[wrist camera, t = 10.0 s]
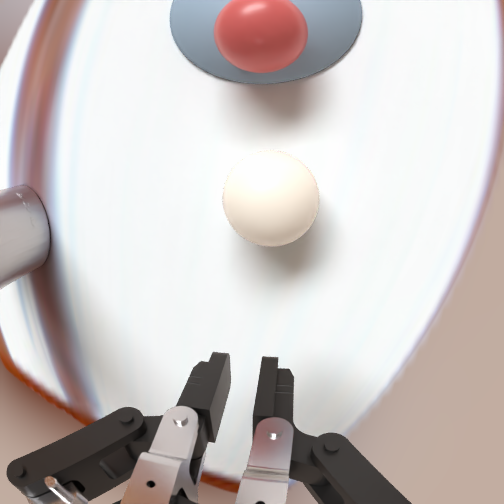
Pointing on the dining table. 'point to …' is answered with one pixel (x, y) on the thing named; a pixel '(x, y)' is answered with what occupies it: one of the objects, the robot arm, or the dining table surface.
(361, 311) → the dining table surface
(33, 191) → the robot arm
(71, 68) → the dining table surface
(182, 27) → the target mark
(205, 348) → the dining table surface
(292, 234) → the cue ball
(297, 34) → the red ball
